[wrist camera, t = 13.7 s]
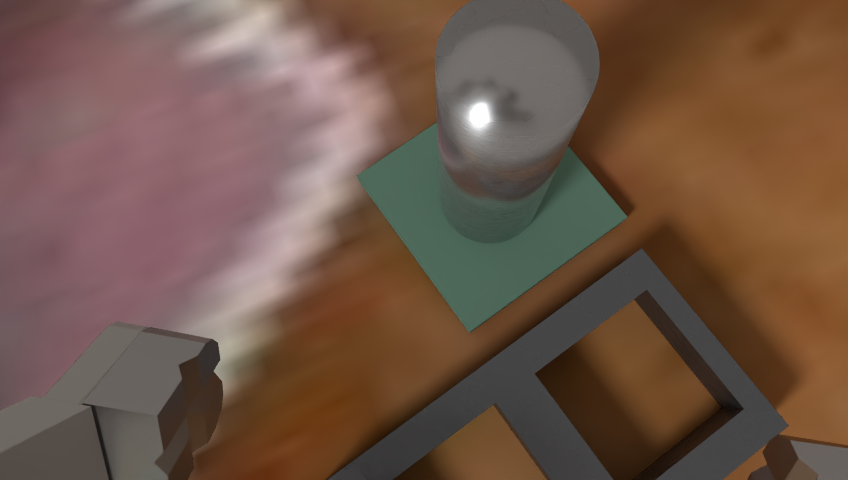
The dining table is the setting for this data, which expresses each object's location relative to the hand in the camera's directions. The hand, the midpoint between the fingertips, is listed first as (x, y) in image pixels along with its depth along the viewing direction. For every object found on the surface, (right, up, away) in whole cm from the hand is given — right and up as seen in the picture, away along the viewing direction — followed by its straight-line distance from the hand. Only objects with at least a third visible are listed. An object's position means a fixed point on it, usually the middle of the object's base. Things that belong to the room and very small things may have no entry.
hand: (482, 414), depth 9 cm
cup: (+2, +5, +20) cm, 21 cm away
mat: (+2, +4, +20) cm, 21 cm away
